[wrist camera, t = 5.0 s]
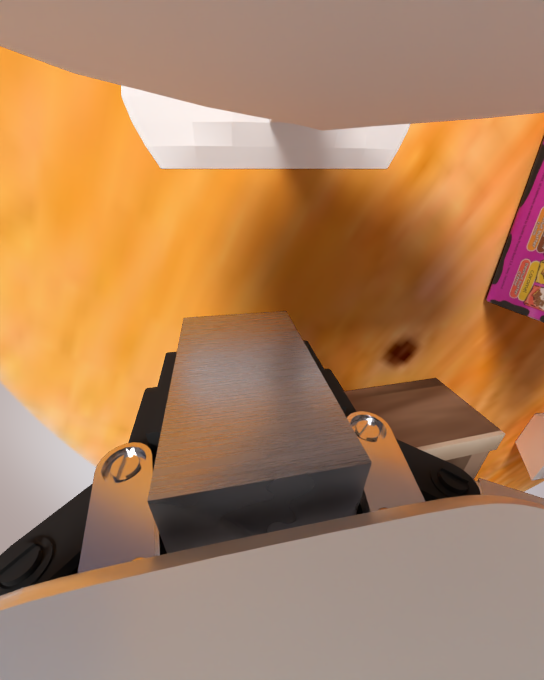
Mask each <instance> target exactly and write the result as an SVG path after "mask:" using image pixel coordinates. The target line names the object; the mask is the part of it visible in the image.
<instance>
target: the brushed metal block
mask: <svg viewBox="0 0 544 680" xmlns="http://www.w3.org/2000/svg"><path fill="white" fill-rule="evenodd" d="M371 464H372V462H371V460H370V458H369V457H368V455H367V453H366V451H365V450H364V448H363V446H362V444H361V442H360V441H359V439H358V437H357V435H356V434H355V432H354V430H353V428H352V427H351V425H350V423H349V421H348V419H347V418H346V416H345V414H344V412H343V411H342V409H341V407H340V405H339V404H338V402H337V400H336V398H335V396H334V395H333V393H332V391H331V389H330V388H329V386H328V384H327V382H326V381H325V379H324V377H323V375H322V373H321V372H320V370H319V368H318V366H317V365H316V363H315V361H314V359H313V358H312V356H311V354H310V352H309V350H308V349H307V347H306V345H305V343H304V342H303V340H302V338H301V336H300V335H299V333H298V331H297V329H296V327H295V326H294V324H293V322H292V320H291V319H290V317H289V315H288V313H287V312H286V311H279V312H264V313H249V314H234V315H219V316H204V317H190V318H184V319H183V324H182V329H181V334H180V339H179V344H178V349H177V354H176V359H175V364H174V369H173V374H172V379H171V384H170V389H169V394H168V399H167V404H166V409H165V414H164V419H163V424H162V429H161V434H160V439H159V444H158V449H157V454H156V459H155V465H154V470H153V475H152V480H151V485H150V490H149V495H148V500H147V502H148V505H149V507H150V510H151V512H152V515H153V518H154V520H155V523H156V526H157V528H158V531H159V533H160V536H161V539H162V541H163V544H164V547H165V549H166V552H167V554H168V553H173V552H178V551H183V550H187V549H192V548H197V547H202V546H206V545H211V544H216V543H221V542H225V541H230V540H235V539H240V538H245V537H250V536H255V535H259V534H264V533H269V532H274V531H279V530H284V529H289V528H294V527H298V526H303V525H308V524H313V523H318V522H323V521H328V520H333V519H338V518H343V517H348V516H353V515H356V513H357V509H358V506H359V503H360V500H361V496H362V493H363V490H364V487H365V483H366V480H367V477H368V474H369V470H370V467H371Z"/></svg>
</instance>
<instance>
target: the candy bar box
mask: <svg viewBox="0 0 544 680" xmlns="http://www.w3.org/2000/svg"><path fill="white" fill-rule="evenodd" d="M486 301H488V302H490V303H493V304H496V305H498V306H501V307H503V308H506V309H508V310H511V311H514V312H516V313H519V314H522V315H525V316H528V317H530V318H532V319H535V320H538V321H541V322H544V139H543V141H542V144H541V147H540V150H539V152H538V155H537V158H536V161H535V163H534V166H533V169H532V172H531V175H530V177H529V180H528V183H527V186H526V189H525V191H524V194H523V197H522V200H521V203H520V206H519V208H518V211H517V214H516V217H515V219H514V222H513V225H512V228H511V231H510V234H509V236H508V239H507V242H506V245H505V248H504V250H503V253H502V256H501V259H500V262H499V265H498V267H497V270H496V273H495V276H494V279H493V282H492V285H491V287H490V290H489V293H488V296H487V299H486Z"/></svg>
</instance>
